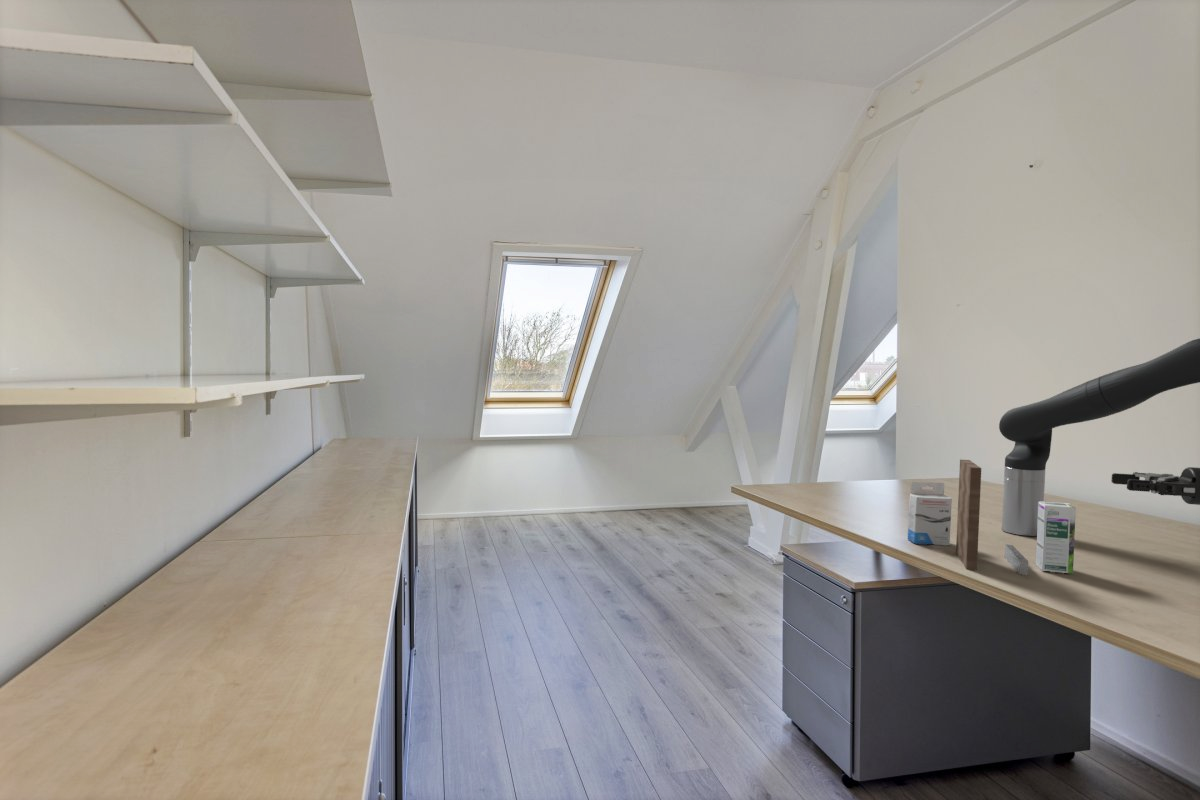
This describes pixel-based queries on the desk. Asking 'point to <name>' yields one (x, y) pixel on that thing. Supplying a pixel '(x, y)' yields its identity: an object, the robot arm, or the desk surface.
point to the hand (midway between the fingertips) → (1119, 481)
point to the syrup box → (1055, 537)
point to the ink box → (929, 514)
